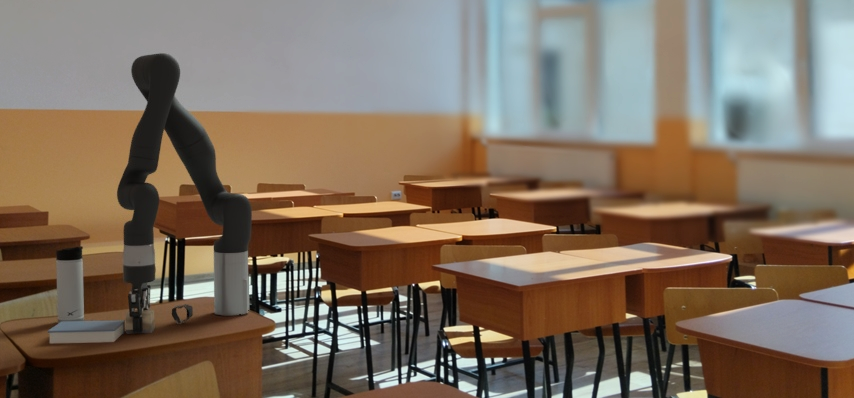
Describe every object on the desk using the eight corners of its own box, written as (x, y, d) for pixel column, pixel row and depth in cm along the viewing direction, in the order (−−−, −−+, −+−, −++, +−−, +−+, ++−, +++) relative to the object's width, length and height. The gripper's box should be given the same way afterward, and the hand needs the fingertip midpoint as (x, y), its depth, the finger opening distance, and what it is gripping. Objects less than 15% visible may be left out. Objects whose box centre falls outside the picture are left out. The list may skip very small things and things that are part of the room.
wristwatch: (189, 325, 207) (188, 306, 206) (171, 324, 208) (170, 305, 208) (195, 322, 210) (194, 303, 209) (177, 321, 211) (177, 302, 210)
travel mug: (75, 325, 205) (73, 248, 204) (52, 324, 207) (50, 247, 205) (90, 320, 211) (88, 245, 210) (67, 319, 213) (66, 244, 211)
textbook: (125, 334, 199) (124, 320, 198) (114, 344, 189) (114, 329, 188) (61, 335, 197) (61, 321, 196) (47, 345, 187) (47, 331, 187)
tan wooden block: (154, 329, 202) (154, 310, 202) (151, 333, 198) (150, 313, 198) (129, 330, 201) (129, 310, 201) (126, 333, 197) (125, 313, 197)
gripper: (148, 266, 192) (149, 336, 193) (160, 258, 206) (161, 323, 207) (115, 267, 191) (117, 337, 192) (130, 258, 205) (131, 323, 206)
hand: (140, 329), depth 200 cm, fingers open, 5 cm apart
